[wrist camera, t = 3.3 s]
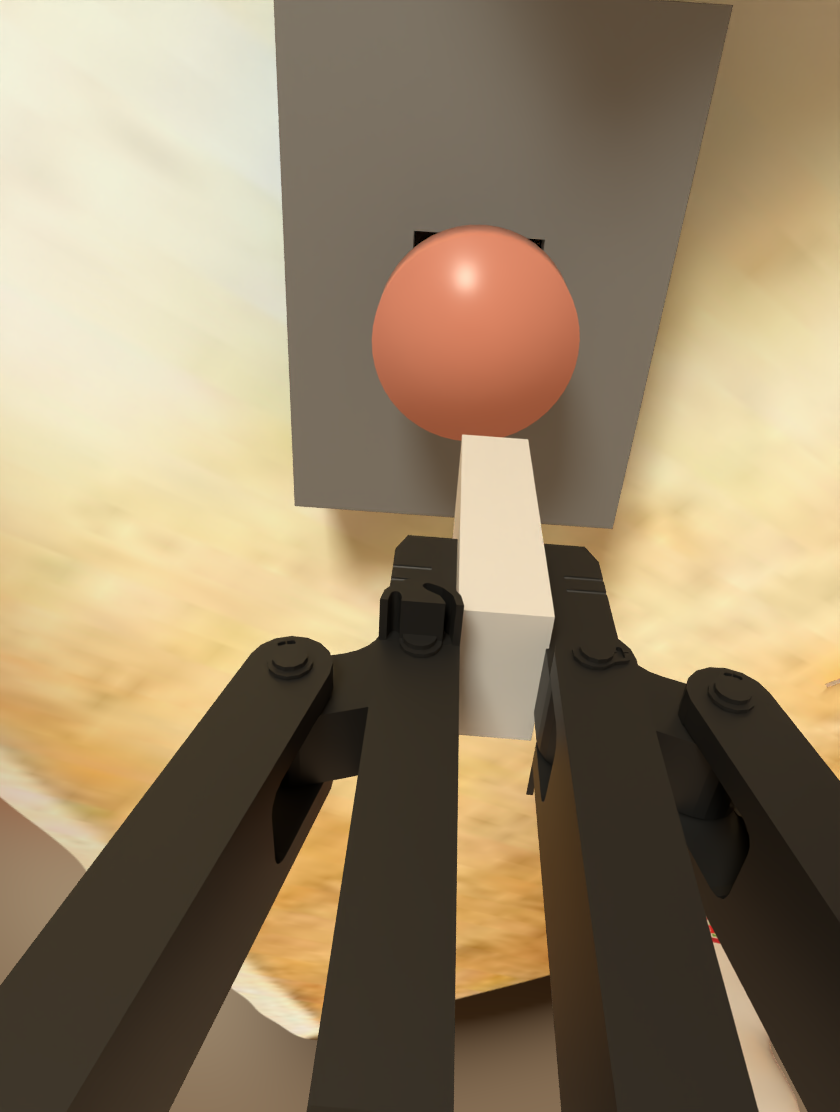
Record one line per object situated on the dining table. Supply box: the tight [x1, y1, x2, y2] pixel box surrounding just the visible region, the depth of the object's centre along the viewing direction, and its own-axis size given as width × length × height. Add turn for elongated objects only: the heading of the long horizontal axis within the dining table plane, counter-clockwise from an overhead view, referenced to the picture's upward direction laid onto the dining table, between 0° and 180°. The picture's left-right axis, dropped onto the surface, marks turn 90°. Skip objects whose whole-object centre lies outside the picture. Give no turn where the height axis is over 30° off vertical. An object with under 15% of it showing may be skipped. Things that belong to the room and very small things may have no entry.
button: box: [372, 225, 580, 441], centre depth 29 cm, size 7×7×8 cm
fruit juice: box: [706, 917, 800, 1112], centre depth 45 cm, size 9×9×28 cm
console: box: [274, 0, 733, 529], centre depth 33 cm, size 15×20×6 cm
